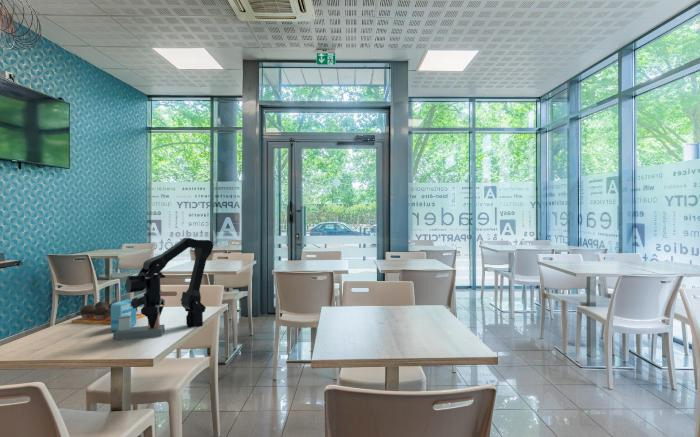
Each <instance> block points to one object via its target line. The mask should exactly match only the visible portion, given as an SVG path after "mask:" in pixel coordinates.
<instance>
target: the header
mask: <svg viewBox="0 0 700 437" xmlns="http://www.w3.org/2000/svg"><path fill="white" fill-rule="evenodd" d="M164 334H165V324H160V326H159V328H153V329H148V325H144V326H143V325H141V326H132V327H131V329H130V330H127V331H119V328H118V329H117V330H116V331H113V333H112V338H113V341H120V340H121V341H123V340H134V339H145V338H146V339H147V338H157V337H162V336H163V335H164Z"/></svg>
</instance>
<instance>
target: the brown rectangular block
mask: <svg viewBox="0 0 700 437" xmlns="http://www.w3.org/2000/svg"><path fill="white" fill-rule="evenodd" d="M159 315H160V313H159ZM159 315H158V317H157V320H156V323H155V326H154V328H159V326H160V325H161V323H160V318H161V315H160V317H159ZM147 326H148V329H151V328H150V324H149V321H148V320H147Z"/></svg>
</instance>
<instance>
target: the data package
mask: <svg viewBox="0 0 700 437" xmlns="http://www.w3.org/2000/svg"><path fill="white" fill-rule="evenodd" d="M131 301H132V299H123V300H120V301H116V302H117V303H113V302H112V303H113V304H112V305H111V324H110V330H111V331H113V332H115V331H116V330H117V329H118V328H119V319H118V317H119V316H123V315H131V327H135V326H136V324H137V320H136V314H137V312H136V308H135V309H133V307H132V306H131V303H130V302H131Z"/></svg>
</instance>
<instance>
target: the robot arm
mask: <svg viewBox="0 0 700 437" xmlns="http://www.w3.org/2000/svg"><path fill="white" fill-rule="evenodd" d="M189 248H191V249H194V251H193V253H194V257H195V258H194V265H193V269H192V272H191V276H190V281H189V284H188V289H187V290H186V291H182V295H181V298H180V304H181V306H182V307H183V308H184V310H185V312H187V315H186V318H185V321H186V322H185V323H186V326H187V328H192V327H202V326H203V325H204V315H203V314H204V313H205V312H206V309H207V307H206V306H205V305H204V304H203V303H202V302H201V301H202V297H201V295H202V294H201V291H200V290H201V285H202V281H203V276H204V272H205V268H206V262H207V259H208V258H209V257H210V256H211V254H212V251H213V249H214V244H213V242H212V240H210V239H195V238H191V237H184V238H182V239H181V240H180V241H179V242H177V243H175V244H174V245H172V246H171V247H170V248H168V249H167V250H165V251H164V252H163V253H161V254H159V255H156V256H153V257H151V258H148V259H146V260H145V261H144V262H143V264H142V267H141V269H140V271H138V273H137V275H127V277H126V280H125V283H124V289H125V291H126V293H127V294H131V293H138V292H143V291H144V290H145V292H144V294H143V295H142V296H140V297H134V298H132V299H131V300H132V301H131V302H130V303H131V306H132V307H133V309H135V308H136V307H141V306H143V307H141V309H140V314H143V315H145V317H146V318H147V322H148V321H149V324H150V328H151V329H153V328H154V326H155V323H156V320H157V317H158V315H159V313H160V315H159V317H160V318H161V315H162V313H163V309H164V306H165V305H166V301H165V299H164V298H162V296H161V294H162V290H161V279H164V278H166V275H165V274H163V273H162V270H163V269H164V268H166V266H167V265H168V263H169V262H170V261H171V260H173V259H175V258H176V257H178V256H179V255H180V254H181V253H183V252H184V251H186V250H187V249H189Z"/></svg>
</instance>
